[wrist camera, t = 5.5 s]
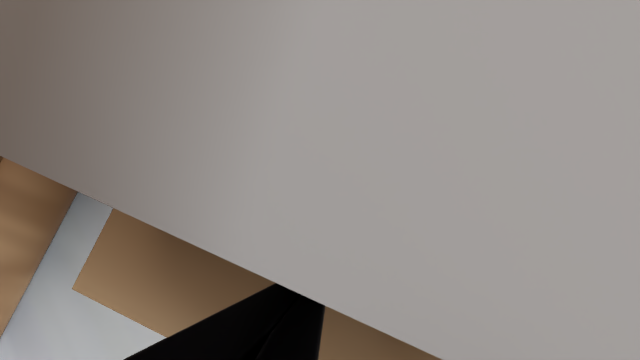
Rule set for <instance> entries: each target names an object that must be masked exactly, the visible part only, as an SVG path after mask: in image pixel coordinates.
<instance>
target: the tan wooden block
mask: <svg viewBox="0 0 640 360" xmlns="http://www.w3.org/2000/svg"><path fill="white" fill-rule="evenodd" d="M273 284H275V282H273V281H271V280H269V279H266V278H264V277H262V276H260V275H258V274H256V273H253V272H251V271H249V270H247V269H245V268H243V267H240V266H238V265H236V264H234V263H232V262H230V261H227V260H225V259H223V258H221V257H219V256H216V255H214V254H212V253H210V252H208V251H206V250H203V249H201V248H199V247H197V246H195V245H193V244H190V243H188V242H186V241H184V240H182V239H180V238H177V237H175V236H173V235H171V234H169V233H167V232H164V231H162V230H160V229H158V228H156V227H154V226H151V225H149V224H147V223H145V222H143V221H141V220H138V219H136V218H134V217H132V216H130V215H128V214H125V213H123V212H121V211H119V210H117V209H115V208H113V210H112V212H111V214H110V216H109V218H108V220H107V222H106V224H105V225H104V227H103V229H102V231H101V233H100V235H99V237H98V239H97V241H96V243H95V245H94V247H93V249H92V251H91V253H90V255H89V256H88V258H87V260H86V262H85V264H84V266H83V268H82V270H81V272H80V274H79V276H78V278H77V280H76V282H75V284H74V286H73V287H72V289H73V290H75V291H77V292H79V293H81V294H83V295H85V296H87V297H88V298H90V299H92V300H94V301H96V302H98V303H100V304H102V305H104V306H106V307H108V308H110V309H112V310H114V311H116V312H118V313H120V314H122V315H124V316H126V317H128V318H130V319H132V320H134V321H135V322H137V323H139V324H141V325H143V326H145V327H147V328H149V329H151V330H153V331H155V332H157V333H159V334H161V335H163V336H165V337H169V336H171V335H173V334H175V333H177V332H179V331H181V330H183V329H185V328H187V327H189V326H191V325H193V324H195V323H197V322H199V321H201V320H203V319H205V318H207V317H209V316H211V315H213V314H215V313H217V312H219V311H221V310H223V309H225V308H227V307H229V306H231V305H233V304H235V303H237V302H239V301H241V300H243V299H245V298H247V297H249V296H251V295H253V294H255V293H257V292H259V291H261V290H263V289H265V288H267V287H269V286H271V285H273ZM318 360H442V359H440V358H438V357H436V356H433V355H431V354H429V353H427V352H425V351H423V350H420V349H418V348H416V347H414V346H412V345H410V344H407V343H405V342H403V341H401V340H399V339H397V338H394V337H392V336H390V335H388V334H386V333H384V332H381V331H379V330H377V329H375V328H373V327H371V326H368V325H366V324H364V323H362V322H360V321H358V320H355V319H353V318H351V317H349V316H347V315H345V314H342V313H340V312H338V311H336V310H334V309H331V308H329V307H327V306H326V307H325V314H324V321H323V329H322V336H321V343H320V350H319V358H318Z"/></svg>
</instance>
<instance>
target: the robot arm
mask: <svg viewBox="0 0 640 360" xmlns="http://www.w3.org/2000/svg"><path fill="white" fill-rule="evenodd" d="M325 307H326V306H325V305H323V304H321V303H318V302H316V301H314V300H312V299H310V298H308V297H305V296H303V295H301V294H299V293H297V292H295V291H292V290H290V289H288V288H286V287H284V286H282V285H279V284H277V283H275V284H273V285H271V286H269V287H267V288H265V289H263V290H261V291H259V292H257V293H255V294H253V295H251V296H249V297H247V298H245V299H243V300H241V301H239V302H237V303H235V304H233V305H231V306H229V307H227V308H225V309H223V310H221V311H219V312H217V313H215V314H213V315H211V316H209V317H207V318H205V319H203V320H201V321H199V322H197V323H195V324H193V325H191V326H189V327H187V328H185V329H183V330H181V331H179V332H177V333H175V334H173V335H171V336H169V337H167V338H165V339H163V340H161V341H159V342H157V343H155V344H153V345H151V346H150V347H148V348H146V349H144V350H142V351H140V352H138V353H136V354H134V355H132V356H130V357H128V358H126V359H124V360H318V358H319V350H320V343H321V336H322V329H323V321H324V314H325Z"/></svg>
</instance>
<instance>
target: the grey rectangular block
mask: <svg viewBox="0 0 640 360" xmlns="http://www.w3.org/2000/svg"><path fill="white" fill-rule="evenodd" d="M0 156H2V157H4V158H6V159H8V160H10V161H13V162H15V163H17V164H19V165H21V166H23V167H26V168H28V169H30V170H32V171H34V172H36V173H39V174H41V175H43V176H45V177H47V178H49V179H52V180H54V181H56V182H58V183H60V184H62V185H65V186H67V187H69V188H71V189H73V190H75V191H78V192H80V193H82V194H84V195H86V196H88V197H91V198H93V199H95V200H97V201H99V202H101V203H104V204H106V205H108V206H110V207H112V208H115V209H117V210H119V211H121V212H123V213H125V214H128V215H130V216H132V217H134V218H136V219H138V220H141V221H143V222H145V223H147V224H149V225H151V226H154V227H156V228H158V229H160V230H162V231H164V232H167V233H169V234H171V235H173V236H175V237H177V238H180V239H182V240H184V241H186V242H188V243H190V244H193V245H195V246H197V247H199V248H201V249H203V250H206V251H208V252H210V253H212V254H214V255H216V256H219V257H221V258H223V259H225V260H227V261H230V262H232V263H234V264H236V265H238V266H240V267H243V268H245V269H247V270H249V271H251V272H253V273H256V274H258V275H260V276H262V277H264V278H266V279H269V280H271V281H273V282H275V283H277V284H279V285H282V286H284V287H286V288H288V289H290V290H292V291H295V292H297V293H299V294H301V295H303V296H305V297H308V298H310V299H312V300H314V301H316V302H318V303H321V304H323V305H325V306H327V307H329V308H331V309H334V310H336V311H338V312H340V313H342V314H345V315H347V316H349V317H351V318H353V319H355V320H358V321H360V322H362V323H364V324H366V325H368V326H371V327H373V328H375V329H377V330H379V331H381V332H384V333H386V334H388V335H390V336H392V337H394V338H397V339H399V340H401V341H403V342H405V343H407V344H410V345H412V346H414V347H416V348H418V349H420V350H423V351H425V352H427V353H429V354H431V355H433V356H436V357H438V358H440V359H442V360H640V0H0Z"/></svg>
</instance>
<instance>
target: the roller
mask: <svg viewBox="0 0 640 360" xmlns="http://www.w3.org/2000/svg"><path fill="white" fill-rule="evenodd" d="M77 192H78V191H75V190H73V189H71V188H69V187H67V186H65V185H62V184H60V183H58V182H56V181H54V180H52V179H49V178H47V177H45V176H43V175H41V174H39V173H36V172H34V171H32V170H30V169H28V168H26V167H23V166H21V165H19V164H17V163H15V162H13V161H10V160H8V159H6V158H4V157H3V159H2V161H1V162H0V337H1V335H2V333H3V332H4V330H5V328H6V326H7V324H8V322H9V320H10V318H11V316H12V315H13V313H14V311H15V309H16V307H17V305H18V303H19V301H20V300H21V298H22V296H23V294H24V292H25V290H26V288H27V286H28V284H29V283H30V281H31V279H32V277H33V275H34V273H35V271H36V269H37V268H38V266H39V264H40V262H41V260H42V258H43V256H44V254H45V252H46V251H47V249H48V247H49V245H50V243H51V241H52V239H53V237H54V236H55V234H56V232H57V230H58V228H59V226H60V224H61V222H62V220H63V219H64V217H65V215H66V213H67V211H68V209H69V207H70V205H71V203H72V202H73V200H74V198H75V196H76V194H77Z"/></svg>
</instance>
